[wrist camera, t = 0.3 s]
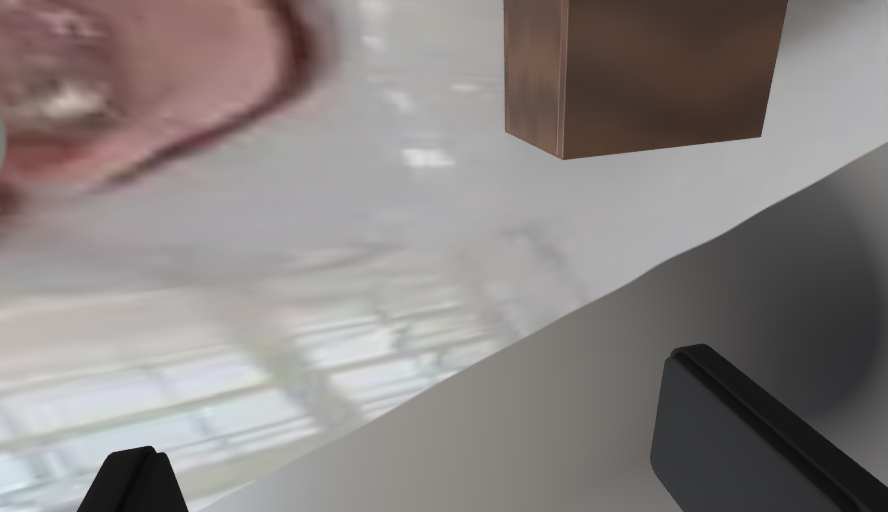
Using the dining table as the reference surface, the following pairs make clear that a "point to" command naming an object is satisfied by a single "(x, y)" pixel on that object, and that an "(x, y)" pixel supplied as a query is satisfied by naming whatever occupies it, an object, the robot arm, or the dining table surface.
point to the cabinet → (637, 72)
